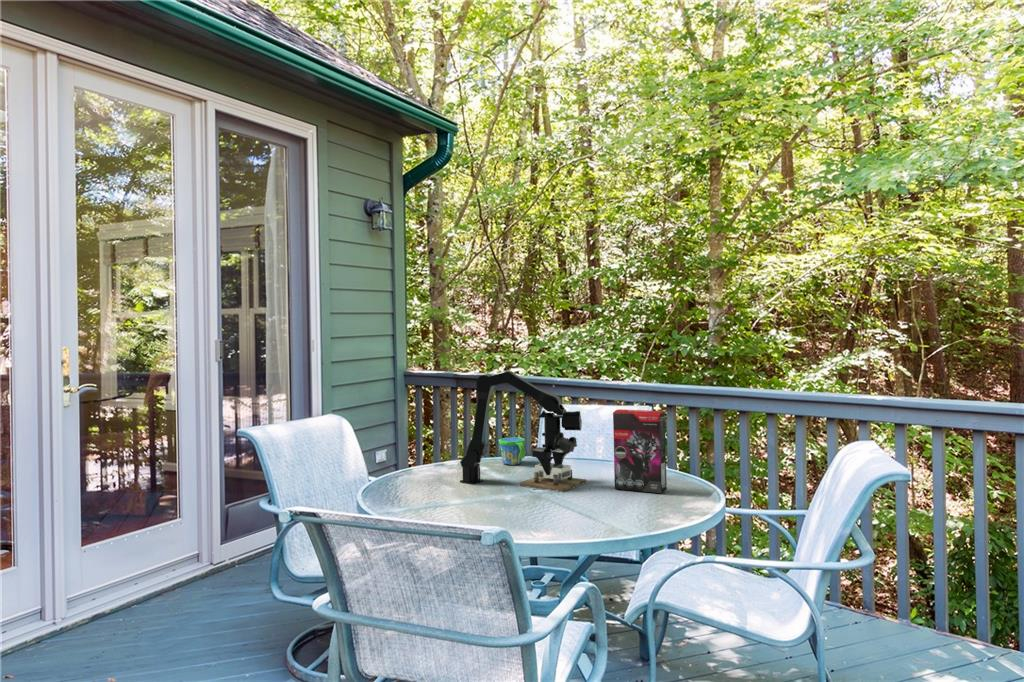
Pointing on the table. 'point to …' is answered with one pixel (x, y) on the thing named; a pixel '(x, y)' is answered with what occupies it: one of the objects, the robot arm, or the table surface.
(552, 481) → the wooden peg board
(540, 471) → the drive
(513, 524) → the table surface
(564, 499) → the table surface
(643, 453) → the graphics card box
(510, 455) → the snack cup
